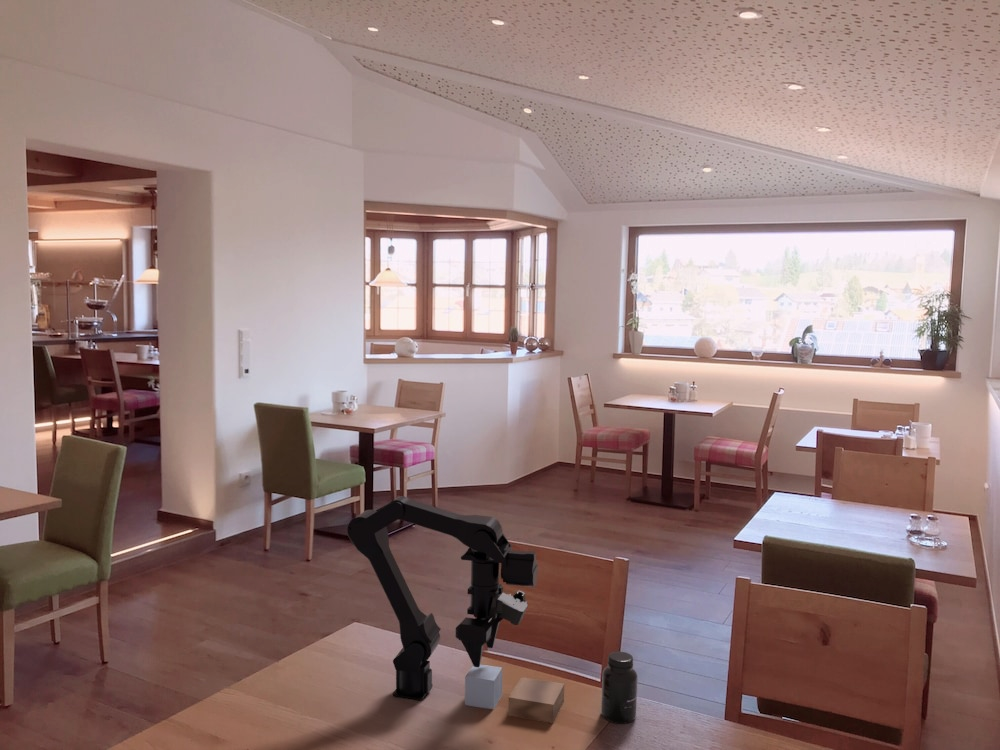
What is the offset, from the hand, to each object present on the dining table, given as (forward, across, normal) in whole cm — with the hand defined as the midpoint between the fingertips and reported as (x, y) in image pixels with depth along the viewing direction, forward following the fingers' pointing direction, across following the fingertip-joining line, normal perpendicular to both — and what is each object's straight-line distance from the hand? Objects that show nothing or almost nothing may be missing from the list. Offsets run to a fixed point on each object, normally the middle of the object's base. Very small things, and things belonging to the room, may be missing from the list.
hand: (483, 657), depth 161 cm
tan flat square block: (+9, 0, -11) cm, 15 cm away
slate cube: (+9, 0, 0) cm, 9 cm away
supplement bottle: (+9, +2, -27) cm, 29 cm away
